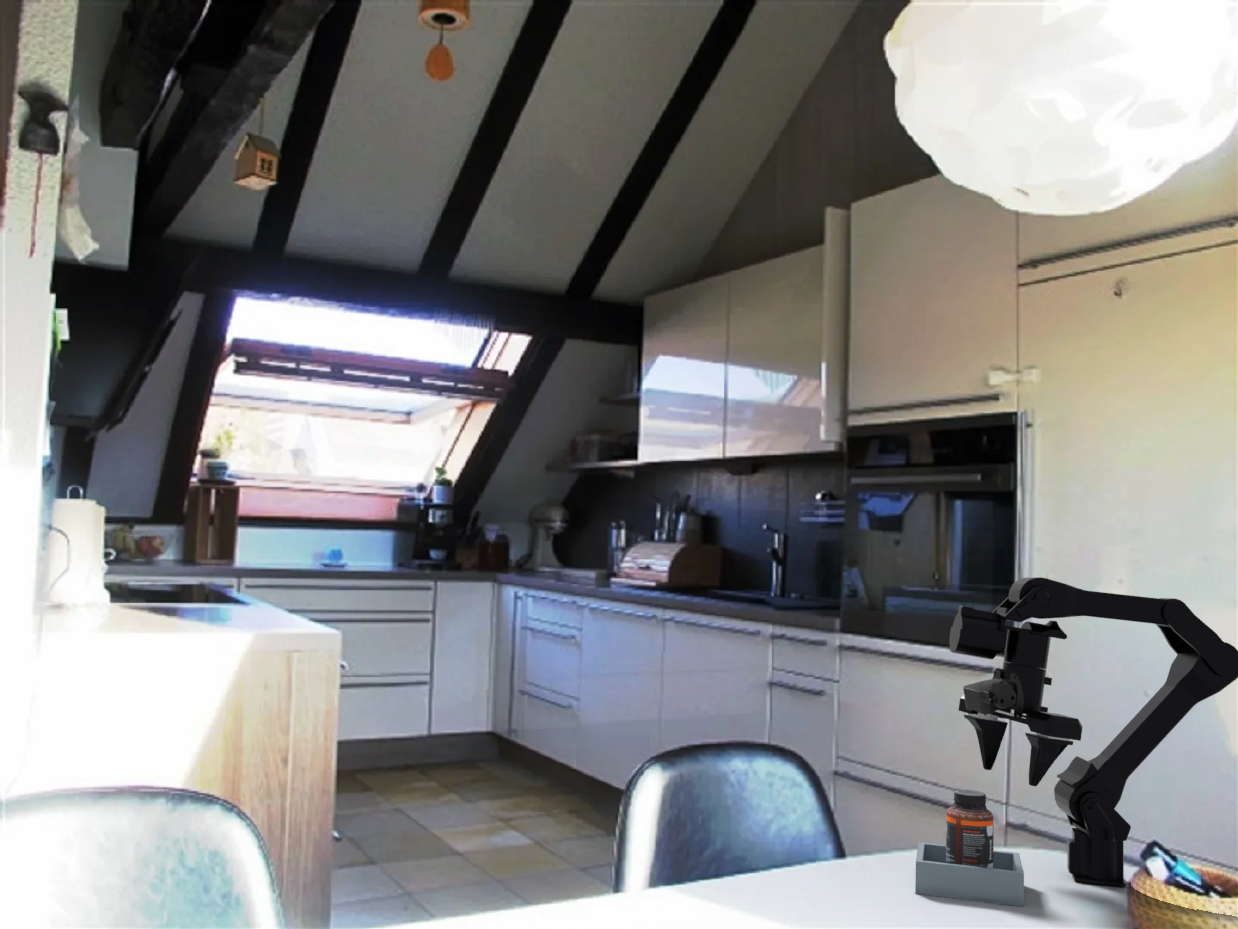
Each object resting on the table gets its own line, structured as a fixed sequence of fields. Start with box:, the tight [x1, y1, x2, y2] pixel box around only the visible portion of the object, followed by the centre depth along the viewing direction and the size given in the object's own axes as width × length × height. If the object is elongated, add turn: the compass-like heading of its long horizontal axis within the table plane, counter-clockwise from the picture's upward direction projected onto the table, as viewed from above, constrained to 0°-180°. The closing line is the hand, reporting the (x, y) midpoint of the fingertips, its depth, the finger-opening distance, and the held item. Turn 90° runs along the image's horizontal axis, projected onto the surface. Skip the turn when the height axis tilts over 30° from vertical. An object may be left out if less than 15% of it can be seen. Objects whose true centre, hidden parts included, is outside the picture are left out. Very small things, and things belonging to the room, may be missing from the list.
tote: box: [914, 841, 1025, 908], centre depth 142 cm, size 13×11×4 cm
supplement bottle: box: [945, 789, 995, 869], centre depth 143 cm, size 6×6×11 cm
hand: (1009, 777), depth 152 cm, fingers open, 9 cm apart
